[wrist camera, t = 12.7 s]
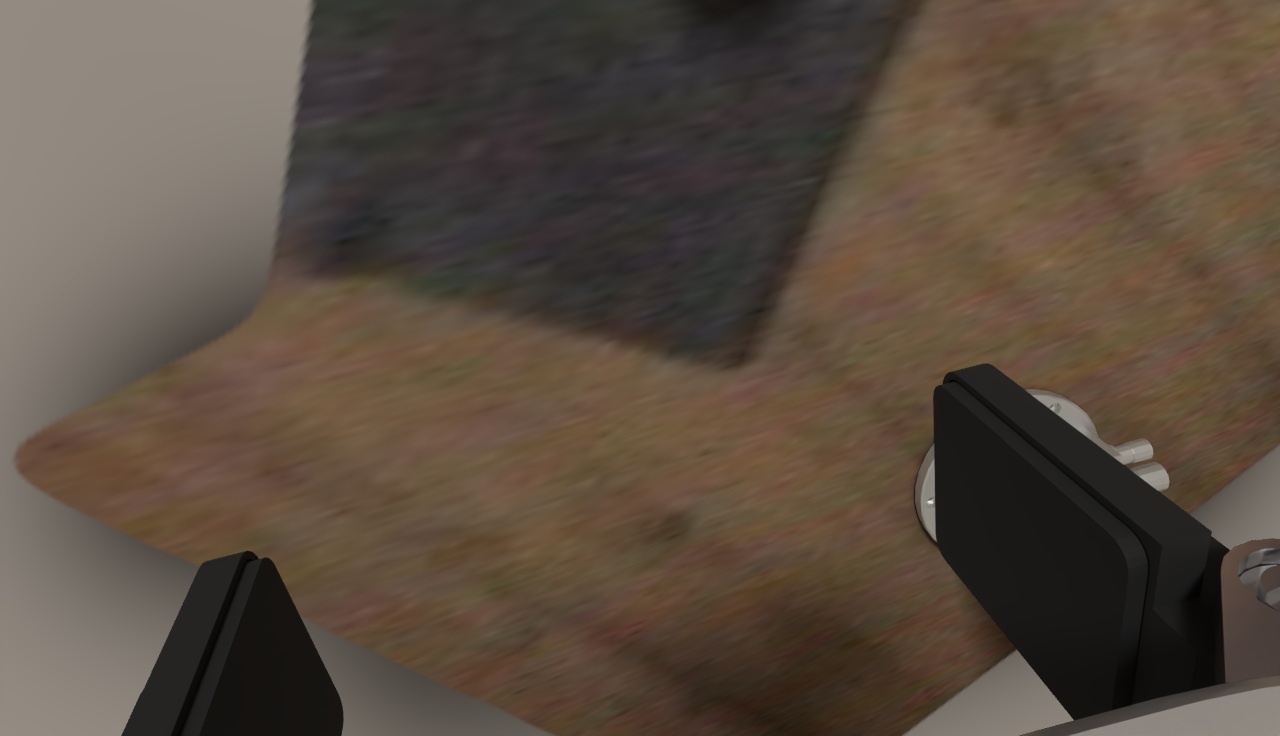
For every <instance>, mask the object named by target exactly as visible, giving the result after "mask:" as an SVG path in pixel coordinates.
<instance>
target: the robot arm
mask: <svg viewBox="0 0 1280 736" xmlns="http://www.w3.org/2000/svg"><path fill="white" fill-rule="evenodd" d="M933 404H934V443H933V445H932V447H931V448H930V450H929V451H928V453H927V454H926V456H925V458H924V461H923V463H922V465H921V467H920V470H919V473H918V477H917V481H916V486H915V504H916V509H917V514H918V517H919V519H920V521H921V523H922V525H923V527H924V528H925V529H926V530H927V532H928V533H929V534H930V535H931V537H932V538H933V539H934V540H935V541H936V542H937V544H938V547H939V549H940V552H941V554H942V556H943V557H944V559H945V560H946V562H947V563H948V564H949V565H950V567H951V568H952V569H953V570H954V572H955V573H956V574H957V575H958V576H959V578H960V579H961V580H962V581H963V583H964V584H965V585H966V586H967V588H968V589H969V590H970V591H971V593H972V594H973V595H974V596H975V598H976V599H977V600H978V601H979V603H980V604H981V605H982V606H983V608H984V609H985V610H986V611H987V613H988V614H989V615H990V616H991V618H992V619H993V620H994V621H995V623H996V624H997V625H998V626H999V628H1000V629H1001V630H1002V631H1003V632H1004V634H1005V635H1006V636H1007V637H1008V639H1009V640H1010V641H1011V642H1012V644H1013V645H1014V646H1015V647H1016V649H1017V650H1018V651H1019V652H1020V654H1021V655H1022V656H1023V657H1024V659H1025V660H1026V661H1027V662H1028V664H1029V665H1030V666H1031V667H1032V669H1033V670H1034V671H1035V672H1036V674H1037V675H1038V676H1039V677H1040V679H1041V680H1042V681H1043V682H1044V683H1045V685H1046V686H1047V687H1048V688H1049V690H1050V691H1051V692H1052V693H1053V695H1055V697H1056V698H1057V700H1058V701H1059V702H1060V703H1061V705H1062V706H1063V707H1064V708H1065V710H1066V711H1067V712H1068V713H1069V714H1070V716H1071V717H1072V718H1073V719H1074V721H1071V722H1067V723H1064V724H1060V725H1056V726H1052V727H1049V728H1045V729H1041V730H1038V731H1034V732H1031V733H1027V734H1024V735H1020V736H1280V539H1274V538H1272V539H1262V540H1252V541H1248V542H1246V543H1243V544H1240V545H1238V546H1235V547H1234V548H1232V549H1231V550H1229V549H1228V548H1226V547H1225V546H1224V545H1222V544H1221V543H1220V542H1218V541H1217V540H1216V539H1215V538H1213V537H1212V536H1211V533H1212V532H1211V531H1210V530H1209V529H1207V528H1206V527H1205V526H1204V525H1202V524H1201V523H1200V522H1198V521H1197V520H1196V519H1195V518H1193V517H1192V516H1191V515H1189V514H1188V513H1187V512H1185V511H1184V510H1183V509H1181V508H1180V507H1179V506H1177V505H1176V504H1175V503H1173V502H1172V501H1171V500H1169V499H1168V498H1167V497H1165V496H1164V495H1163V494H1162V493H1160V491H1164V490H1165V489H1167V488H1168V486H1169V477H1168V474H1167V472H1166V470H1165V469H1164V468H1163V467H1162V466H1161V465H1160V464H1159V463H1156V462H1151V463H1148V464H1144V465H1140V466H1137V467H1133V468H1127V467H1126V466H1125V465H1124V464H1128V463H1130V464H1132V463H1136V462H1140V461H1143V460H1147V459H1150V458H1152V456H1153V448H1152V446H1151V444H1150V443H1149V442H1148V441H1147V440H1146V439H1143V438H1141V439H1138V440H1134V441H1130V442H1126V443H1123V444H1121V445H1119V446H1115V447H1113V446H1112V445H1109V444H1106V443H1105V442H1103V441H1102V440H1101V439H1099V438H1098V435H1097V431H1096V428H1095V425H1094V424H1093V422H1092V421H1091V419H1090V418H1089V416H1088V415H1087V414H1086V413H1085V412H1084V411H1083V410H1082V409H1081V408H1079V407H1078V406H1077V405H1076V404H1074V403H1073V402H1071V401H1070V400H1068V399H1067V398H1065V397H1064V396H1062V395H1059V394H1056V393H1053V392H1050V391H1045V390H1036V389H1028V390H1024V389H1023V388H1022V387H1020V386H1019V385H1018V384H1016V383H1015V382H1014V381H1012V380H1011V379H1010V378H1008V377H1007V376H1006V375H1004V374H1003V373H1002V372H1001V371H999V370H998V369H997V368H995V367H994V366H992V365H990V364H980V365H976V366H973V367H969V368H965V369H961V370H957V371H953V372H949V373H948V374H946V375H945V377H944V380H943V385H939V386H937V387H936V388H935V390H934V396H933ZM342 729H343V707H342V703H341V700H340V697H339V694H338V692H337V690H336V688H335V686H334V684H333V682H332V680H331V678H330V676H329V674H328V672H327V670H326V668H325V666H324V664H323V662H322V660H321V658H320V656H319V654H318V652H317V650H316V648H315V645H314V644H313V641H312V639H311V638H310V635H309V633H308V632H307V629H306V627H305V625H304V623H303V621H302V619H301V617H300V615H299V613H298V611H297V609H296V607H295V605H294V603H293V601H292V599H291V597H290V595H289V593H288V591H287V589H286V587H285V585H284V583H283V581H282V579H281V577H280V575H279V573H278V571H277V569H276V567H275V565H274V563H273V562H272V560H270V559H269V558H266V557H265V558H261V559H258V557H257V556H256V555H255V554H254V553H253V552H251V551H245V552H241V553H237V554H233V555H229V556H225V557H221V558H217V559H213V560H209V561H206V562H204V563H202V565H201V566H200V568H199V570H198V572H197V574H196V576H195V578H194V581H193V583H192V585H191V587H190V589H189V592H188V594H187V596H186V598H185V600H184V602H183V605H182V607H181V609H180V611H179V614H178V616H177V618H176V620H175V622H174V625H173V626H172V629H171V631H170V633H169V635H168V638H167V640H166V642H165V644H164V646H163V649H162V651H161V653H160V655H159V657H158V660H157V662H156V664H155V666H154V668H153V670H152V673H151V675H150V677H149V679H148V681H147V683H146V686H145V688H144V690H143V691H142V693H141V694H140V696H139V698H138V701H137V703H136V705H135V707H134V709H133V712H132V714H131V716H130V718H129V720H128V723H127V725H126V727H125V729H124V731H123V733H122V736H341V735H342Z"/></svg>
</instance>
